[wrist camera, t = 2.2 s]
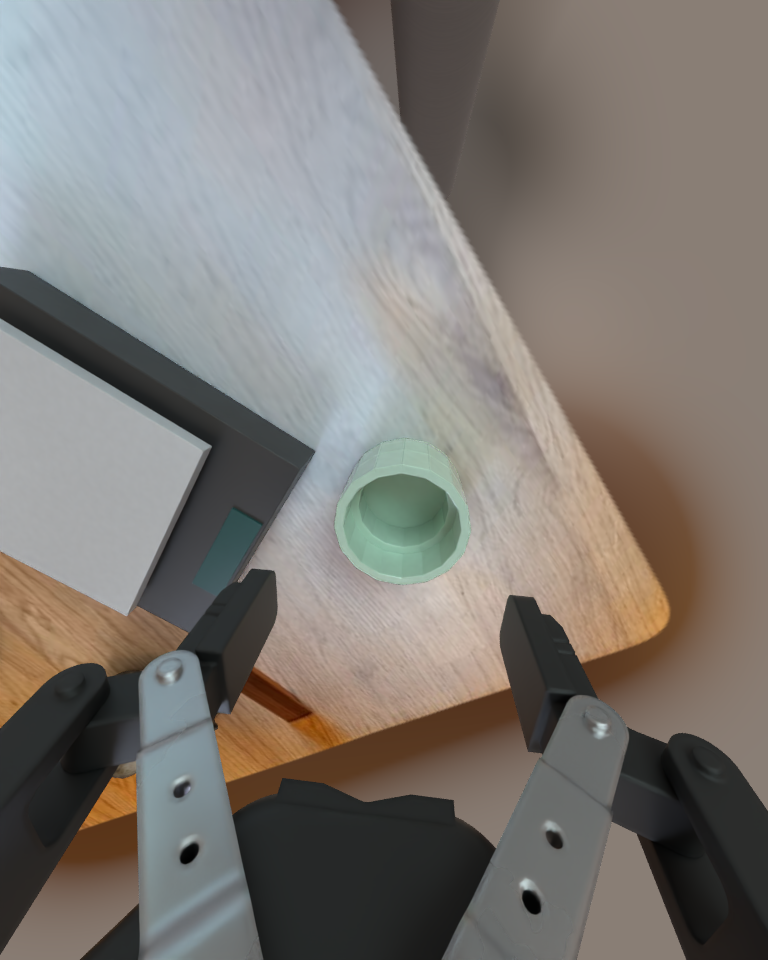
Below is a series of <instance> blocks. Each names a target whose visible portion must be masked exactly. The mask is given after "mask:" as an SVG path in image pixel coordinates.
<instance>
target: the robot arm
mask: <svg viewBox="0 0 768 960" xmlns="http://www.w3.org/2000/svg"><path fill="white" fill-rule="evenodd" d="M277 607H278V606H277V589H276V575H275V572H274V571H271V570H261V569H251V570H250V571H249V573H248V574H247V575H246V577H245V578H244V580H243V581H242V583H238V582H233V583H232V584H231V585H229V586H228V587H226V588H225V589H223V590H222V591H221V592H220V593H219V594H218V596H217V597H216V598H215V600H214V601H213V602H212V605H210V606H209V607H208V609H207V610H206V611H205V614H204V615H202V617H201V618H200V619H199V621H198V622H197V623H196V625H195V626H194V627H193V629H192V630H191V631H190V633H189V634H188V635H187V637H186V638H185V639H184V641H183V642H182V643H181V645H180V646H179V647H178V649H177V650H176V651H172V652H168V653H166V654H163V655H161V656H159V657H157V658H156V659H154V660H153V661H152V662H150V663H149V664H148V665H147V666H146V667H145V668H144V670H143V671H140V672H135V673H129V674H123V675H116V676H110V677H107V675H106V672H105V669H104V668H103V667H102V666H101V665H99V664H94V663H86V664H80V665H76V666H73V667H70V668H68V669H66V670H64V671H62V672H60V673H58V674H57V675H55V676H53V677H52V678H51V679H49V680H48V681H47V682H46V683H45V684H44V685H43V686H42V687H41V688H40V689H39V690H38V691H37V692H36V693H35V694H34V695H33V696H32V697H31V698H30V699H29V700H28V701H27V702H26V703H25V704H24V705H23V706H22V707H21V708H20V709H19V710H18V711H17V712H16V713H15V714H14V715H13V716H12V717H11V718H10V719H9V720H8V721H7V722H6V723H5V724H4V725H3V726H2V727H1V728H0V954H1V953H2V951H3V950H4V948H5V946H6V945H7V943H8V941H9V940H10V938H11V937H12V935H13V934H14V932H15V930H16V929H17V927H18V926H19V924H20V922H21V921H22V919H23V918H24V916H25V914H26V913H27V911H28V910H29V908H30V907H31V905H32V903H33V902H34V900H35V898H36V897H37V895H38V894H39V892H40V891H41V889H42V887H43V886H44V884H45V883H46V881H47V879H48V878H49V876H50V874H51V873H52V871H53V870H54V868H55V867H56V865H57V863H58V862H59V860H60V859H61V857H62V856H63V854H64V852H65V851H66V849H67V848H68V846H69V844H70V843H71V841H72V840H73V838H74V836H75V835H76V833H77V832H78V830H79V829H80V827H81V825H82V824H83V822H84V821H85V819H86V817H87V816H88V814H89V813H90V811H91V809H92V808H93V806H94V805H95V803H96V801H97V800H98V798H99V797H100V795H101V793H102V792H103V790H104V789H105V787H106V786H107V784H108V782H109V781H110V779H111V778H112V776H113V774H114V773H115V771H116V770H117V768H118V766H119V765H120V764H125V763H129V762H134V761H136V783H137V827H138V874H139V875H138V876H139V904H138V905H137V906H136V907H135V908H134V909H132V910H131V911H130V912H129V913H128V914H127V915H126V916H125V917H124V918H123V919H122V920H121V921H120V922H119V923H118V924H117V925H116V926H115V927H114V928H113V929H112V930H110V931H109V932H108V933H107V934H106V935H105V936H104V937H103V938H102V939H101V940H100V941H99V942H98V943H97V944H96V945H95V946H94V947H93V948H92V949H91V950H89V951H88V952H87V953H86V954H85V955H84V956H83V957H82V958H81V959H80V960H577V956H578V952H579V948H580V944H581V941H582V937H583V933H584V929H585V925H586V921H587V917H588V913H589V909H590V905H591V901H592V897H593V893H594V889H595V886H596V882H597V877H598V873H599V870H600V866H601V862H602V858H603V854H604V850H605V846H606V842H607V838H608V834H609V830H610V827H611V822H614V823H616V824H618V825H620V826H622V827H624V828H626V829H628V830H631V831H633V832H635V833H637V836H638V838H639V841H640V843H641V845H642V848H643V850H644V853H645V856H646V858H647V861H648V863H649V866H650V869H651V871H652V874H653V876H654V879H655V881H656V884H657V886H658V889H659V891H660V894H661V896H662V899H663V902H664V904H665V907H666V909H667V912H668V914H669V917H670V919H671V922H672V924H673V927H674V929H675V932H676V934H677V937H678V940H679V942H680V945H681V947H682V950H683V952H684V955H685V957H686V960H768V811H767V809H766V808H765V806H764V805H763V803H762V802H761V801H760V799H759V798H758V796H757V795H756V793H755V792H754V791H753V789H752V787H751V786H750V785H749V783H748V782H747V780H746V779H745V777H744V776H743V774H742V773H741V771H740V770H739V769H738V767H737V766H736V765H735V764H734V763H733V761H731V759H730V758H729V757H728V756H727V755H725V754H724V753H723V752H722V751H721V750H719V749H718V748H717V747H715V746H714V745H712V744H711V743H709V742H707V741H705V740H704V739H701V738H699V737H697V736H694V735H691V734H686V733H678V734H675V735H673V736H672V737H671V738H670V740H669V742H668V743H664V742H661V741H659V740H656V739H654V738H651V737H649V736H646V735H644V734H641V733H638V732H636V731H634V730H632V729H630V728H628V727H627V726H626V724H625V723H624V721H623V719H622V718H621V717H620V716H619V714H618V713H617V712H615V710H614V709H612V708H611V707H610V706H608V705H607V704H606V703H604V702H602V701H601V700H599V699H598V698H597V696H596V694H595V692H594V690H593V688H592V686H591V684H590V682H589V680H588V678H587V676H586V674H585V672H584V670H583V668H582V666H581V663H580V661H579V659H578V657H577V655H575V651H574V649H573V647H572V645H571V644H569V639H568V637H567V635H566V633H565V631H564V629H563V627H562V626H561V625H560V624H559V623H558V622H557V621H556V620H555V619H554V618H553V617H552V616H551V615H545V614H541V612H540V609H539V607H538V605H537V603H536V601H535V599H534V598H533V597H525V596H515V595H510V596H509V597H508V599H507V603H506V608H505V612H504V616H503V621H502V625H501V630H500V648H501V652H502V656H503V660H504V664H505V667H506V671H507V675H508V679H509V682H510V686H511V690H512V693H513V697H514V701H515V705H516V708H517V712H518V716H519V719H520V723H521V727H522V731H523V734H524V738H525V742H526V745H527V749H528V752H536V753H542V757H541V758H539V760H538V761H537V763H536V765H535V768H534V770H533V772H532V774H531V776H530V778H529V780H528V783H527V784H526V787H525V789H524V791H523V793H522V795H521V797H520V799H519V801H518V803H517V806H516V808H515V810H514V812H513V814H512V816H511V818H510V820H509V823H508V825H507V827H506V829H505V831H504V833H503V835H502V837H501V839H500V841H499V843H498V846H497V848H495V847H494V846H493V845H492V844H491V843H490V842H489V841H488V840H487V839H486V838H485V837H484V836H483V835H482V834H481V833H479V831H477V830H476V829H475V828H473V827H472V826H470V825H469V824H467V823H466V822H464V821H463V820H461V819H459V818H456V817H455V813H454V800H448V799H440V798H432V797H425V796H417V795H406V796H401V797H395V798H390V799H384V800H379V801H373V802H363V801H360V800H358V799H356V798H354V797H352V796H350V795H347V794H345V793H343V792H341V791H339V790H337V789H335V788H332V787H330V786H328V785H326V784H324V783H316V782H309V781H301V780H294V779H286V778H282V781H281V785H280V788H279V791H278V794H273V795H269V796H266V797H263V798H260V799H258V800H256V801H254V802H252V803H250V804H248V805H246V806H245V807H243V808H242V809H240V810H238V811H237V812H236V813H234V814H233V815H232V812H231V807H230V803H229V798H228V793H227V789H226V784H225V779H224V774H223V769H222V765H221V760H220V755H219V750H218V746H217V741H216V736H215V732H214V727H213V722H212V721H213V720H214V718H215V716H216V714H217V713H225V714H231V712H232V710H233V708H234V705H235V703H236V701H237V699H238V697H239V695H240V693H241V691H242V689H243V687H244V685H245V683H246V681H247V679H248V677H249V675H250V673H251V671H252V669H253V666H254V664H255V662H256V660H257V658H258V656H259V654H260V652H261V650H262V648H263V646H264V644H265V642H266V640H267V638H268V636H269V634H270V632H271V629H272V627H273V625H274V623H275V620H276V616H277Z"/></svg>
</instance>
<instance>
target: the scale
mask: <svg viewBox="0 0 768 960" xmlns="http://www.w3.org/2000/svg"><path fill="white" fill-rule="evenodd" d="M314 453H315V451H314V450H313V449H311V448H309V447H308V446H306V445H305V444H303V443H301V442H300V441H298V440H297V439H295V438H294V437H292V436H290V435H289V434H287V433H286V432H284V431H282V430H281V429H279V428H278V427H276V426H274V425H273V424H271V423H270V422H268V421H266V420H265V419H263V418H262V417H260V416H259V415H257V414H255V413H254V412H252V411H251V410H249V409H247V408H246V407H244V406H243V405H241V404H239V403H238V402H236V401H235V400H233V399H231V398H230V397H228V396H227V395H225V394H224V393H222V392H220V391H219V390H217V389H216V388H214V387H212V386H211V385H209V384H208V383H206V382H204V381H203V380H201V379H200V378H198V377H196V376H195V375H193V374H192V373H190V372H189V371H187V370H185V369H184V368H182V367H181V366H179V365H177V364H176V363H174V362H173V361H171V360H169V359H168V358H166V357H165V356H163V355H162V354H160V353H158V352H157V351H155V350H154V349H152V348H150V347H149V346H147V345H146V344H144V343H142V342H141V341H139V340H138V339H136V338H134V337H133V336H131V335H130V334H128V333H127V332H125V331H123V330H122V329H120V328H119V327H117V326H115V325H114V324H112V323H111V322H109V321H107V320H106V319H104V318H103V317H101V316H99V315H98V314H96V313H95V312H93V311H92V310H90V309H88V308H87V307H85V306H84V305H82V304H80V303H79V302H77V301H76V300H74V299H72V298H71V297H69V296H68V295H66V294H64V293H63V292H61V291H60V290H58V289H57V288H55V287H53V286H52V285H50V284H49V283H47V282H45V281H44V280H42V279H41V278H39V277H37V276H36V275H34V274H33V273H31V272H29V271H25V270H18V269H12V268H5V267H0V551H1V552H3V553H5V554H7V555H8V556H10V557H12V558H14V559H16V560H18V561H20V562H22V563H24V564H26V565H28V566H30V567H32V568H34V569H36V570H38V571H40V572H42V573H44V574H46V575H47V576H49V577H51V578H53V579H55V580H57V581H59V582H61V583H63V584H65V585H67V586H69V587H71V588H73V589H75V590H77V591H79V592H81V593H83V594H84V595H86V596H88V597H90V598H92V599H94V600H96V601H98V602H100V603H102V604H104V605H106V606H108V607H110V608H112V609H114V610H116V611H118V612H120V613H122V614H123V615H125V616H128V615H129V614H130V613H131V612H132V611H133V610H134V609H135V608H136V606H139V607H141V608H143V609H144V610H146V611H148V612H150V613H152V614H154V615H156V616H158V617H160V618H162V619H164V620H166V621H168V622H169V623H171V624H173V625H175V626H177V627H179V628H181V629H183V630H185V631H187V632H189V633H190V631H191V630H192V629H193V627H194V626H195V625H196V623H197V622H198V621H199V619H200V618H201V617H202V615H204V614H205V611H206V610H207V609H208V607H209V606H210V605H212V602H213V601H214V600H215V598H216V597H217V596H218V594H219V593H220V592H221V591H222V590H223V589H225V588H226V587H228V586H229V585H231V584H232V583H233V582H237V581H238V579H239V577H240V576H241V574H242V572H243V571H244V569H245V567H246V566H247V564H248V562H249V561H250V559H251V557H252V556H253V554H254V552H255V551H256V549H257V547H258V546H259V544H260V542H261V541H262V539H263V537H264V536H265V534H266V533H267V531H268V529H269V528H270V526H271V524H272V523H273V521H274V519H275V518H276V516H277V514H278V513H279V511H280V509H281V508H282V506H283V504H284V503H285V501H286V499H287V498H288V496H289V494H290V493H291V491H292V489H293V488H294V486H295V485H296V483H297V481H298V480H299V478H300V476H301V475H302V473H303V471H304V470H305V468H306V466H307V465H308V463H309V461H310V460H311V458H312V456H313V455H314Z"/></svg>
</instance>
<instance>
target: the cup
mask: <svg viewBox="0 0 768 960" xmlns="http://www.w3.org/2000/svg"><path fill="white" fill-rule="evenodd" d="M334 529H335V532H336V536H337V539H338V542H339V546H340V549H341V550H342V552H343V553H344V554H345V555H346V557H347V558H348V559H349V560H350V561H351V563H352V564H353V565H354V566H355V567H356V568H357V569H359V570H360V571H362V572H364V573H365V574H367V575H369V576H371V577H372V578H374V579H376V580H378V581H383V582H388V583H393V584H398V585H407V584H415V583H423V582H427V581H429V580H431V579H433V578H435V577H437V576H440V575H442V574H444V573H446V572H447V571H449V570H450V568H451V567H452V566H453V565H454V564H455V563H456V562H457V561H458V560H459V559H460V557H461V556H462V555H463V554H464V552H465V549H466V546H467V543H468V540H469V536H470V533H471V525H470V518H469V511H468V506H467V502H466V499H465V495H464V492H463V488H462V485H461V481H460V478H459V475H458V472H457V470H456V469H455V467H454V466H453V464H452V463H451V461H450V460H449V458H448V457H447V456H446V454H444V453H443V452H441V451H440V450H438V449H437V448H435V447H434V446H432V445H431V444H429V443H427V442H423V441H418V440H413V439H408V438H401V439H396V440H390V441H385V442H383V443H380V444H378V445H377V446H375V447H374V448H372V449H371V450H369V451H368V452H366V453H365V454H364V455H363V456H362V457H361V459H360V460H359V462H358V463H357V465H356V466H355V468H354V469H353V471H352V473H351V475H350V478H349V480H348V482H347V484H346V486H345V488H344V490H343V492H342V495H341V497H340V499H339V501H338V504H337V509H336V515H335V522H334Z"/></svg>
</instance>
